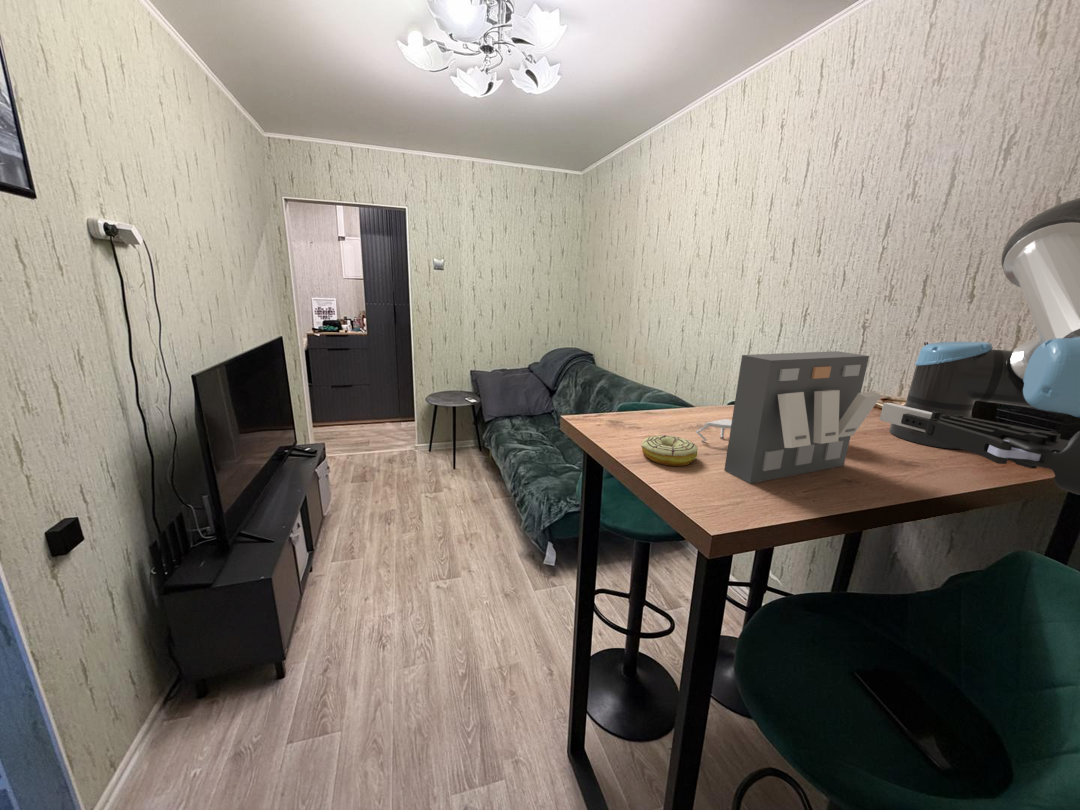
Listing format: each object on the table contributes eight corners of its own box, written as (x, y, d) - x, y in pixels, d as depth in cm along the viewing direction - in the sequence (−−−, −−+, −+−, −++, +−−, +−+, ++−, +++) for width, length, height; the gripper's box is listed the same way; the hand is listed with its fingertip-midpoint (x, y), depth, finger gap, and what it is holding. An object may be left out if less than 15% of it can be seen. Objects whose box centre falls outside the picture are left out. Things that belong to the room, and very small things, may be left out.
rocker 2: (854, 435, 81) (882, 396, 76) (838, 438, 80) (866, 397, 75) (846, 430, 82) (874, 391, 77) (831, 432, 81) (858, 392, 76)
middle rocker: (839, 441, 76) (840, 390, 75) (822, 443, 74) (823, 391, 73) (830, 439, 77) (831, 389, 77) (813, 442, 76) (814, 391, 75)
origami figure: (732, 435, 102) (735, 415, 101) (757, 447, 95) (761, 426, 93) (687, 438, 100) (690, 417, 98) (709, 451, 92) (713, 429, 90)
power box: (845, 466, 85) (871, 356, 80) (751, 484, 76) (773, 360, 70) (815, 455, 91) (837, 351, 85) (724, 470, 82) (742, 355, 76)
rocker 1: (811, 445, 72) (804, 391, 73) (793, 447, 71) (785, 393, 71) (803, 445, 74) (796, 392, 74) (784, 447, 72) (777, 394, 73)
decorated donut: (664, 445, 95) (665, 429, 94) (706, 462, 86) (709, 444, 85) (630, 454, 89) (632, 437, 88) (673, 473, 80) (675, 454, 79)
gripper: (1083, 512, 45) (851, 438, 66) (1136, 494, 49) (904, 430, 70) (1111, 444, 43) (862, 390, 64) (1163, 431, 47) (915, 385, 68)
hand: (884, 411), depth 67 cm, fingers closed
